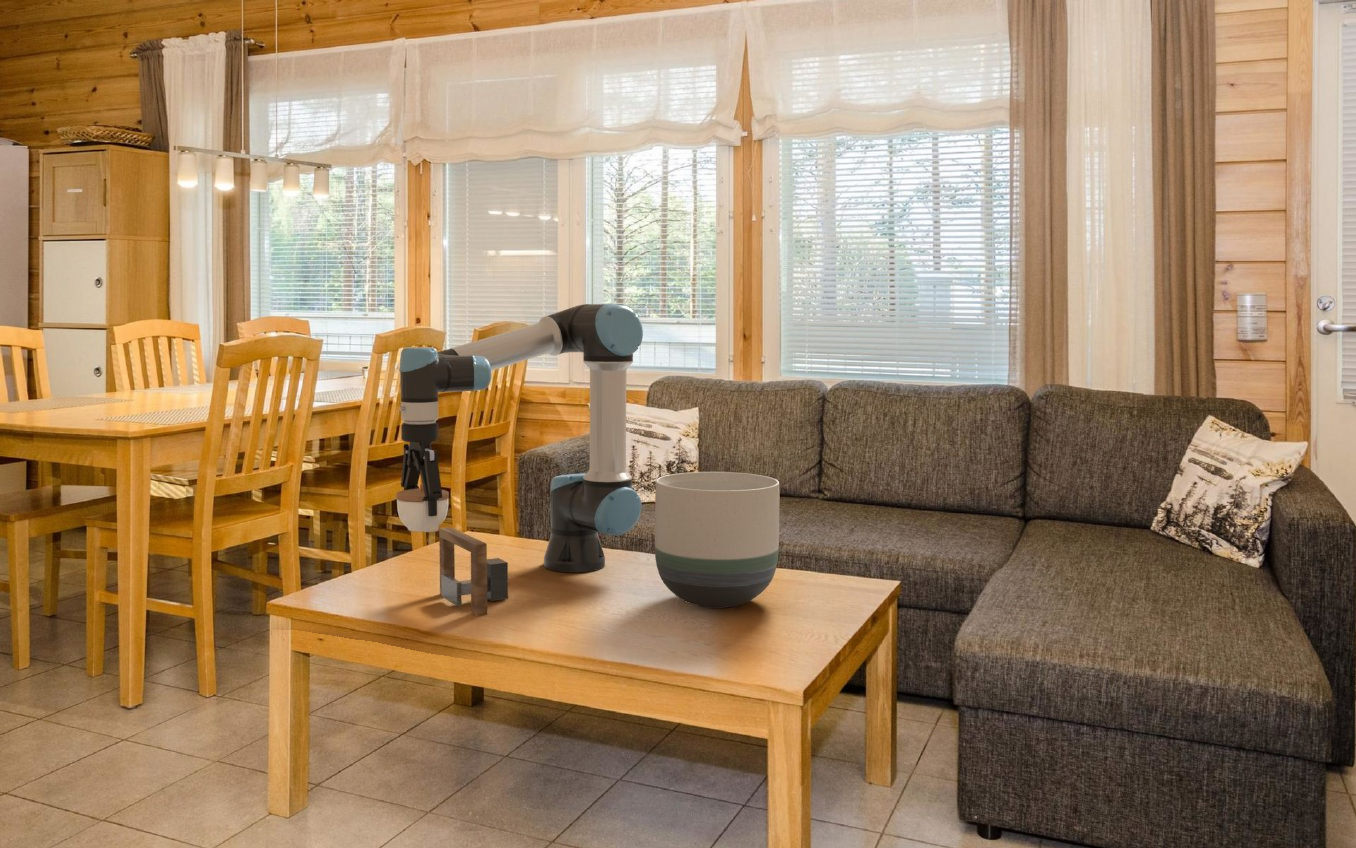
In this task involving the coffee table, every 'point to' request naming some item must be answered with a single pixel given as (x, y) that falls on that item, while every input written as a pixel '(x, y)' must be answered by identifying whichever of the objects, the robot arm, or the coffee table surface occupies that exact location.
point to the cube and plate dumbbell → (456, 589)
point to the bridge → (478, 564)
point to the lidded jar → (418, 508)
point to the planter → (716, 536)
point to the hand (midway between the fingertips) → (421, 526)
